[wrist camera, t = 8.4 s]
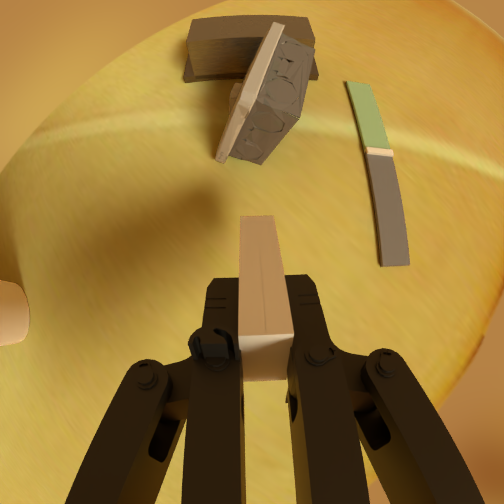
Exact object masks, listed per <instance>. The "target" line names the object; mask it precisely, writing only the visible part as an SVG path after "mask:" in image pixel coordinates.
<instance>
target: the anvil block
mask: <svg viewBox="0 0 504 504" xmlns="http://www.w3.org/2000/svg"><path fill="white" fill-rule="evenodd" d="M273 22H276V23H279V24H282V25H285V26H284V29H283V31H282V33H284V34H285V35H287V36H289V37H291V38H294V39H295V40H297V41H298V42H300V43H302V44H305V45H307V46H309V47H312V48H314V44H315V37H314V34H313V32H312V29H311V26H310V23H309V20H308V18H307V17H296V16H279V15H239V16H222V17H210V18H201V19H193V20H192V23H191V26H190V30H189V33H188V37H187V41H186V43H187V47H188V51H189V54H188V59H187V63H186V68H185V73H184V80H185V83H190V82H199V81H209V80H222V79H242V78H245V75H246V73H247V71H248V68H249V66H250V64H251V63H252V61H253V60H254V57H255V55H256V53H257V51H258V49H259V46H260V44H261V42H262V40H263V38H264V36H265V35H266V33H267V31H268V29H269V28H270V26H271V25H272V24H273ZM318 76H319V74H318V70H317V66H316V63H315V59H314V57H313V62H312V67H311V71H310V76H309V80H317V79H318Z"/></svg>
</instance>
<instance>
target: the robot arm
mask: <svg viewBox="0 0 504 504" xmlns="http://www.w3.org/2000/svg"><path fill="white" fill-rule="evenodd" d="M204 308H205V309H204V314H203V322H202V327H201V328H199V329H197V330H196V331H195V332H194V333H193V334H192V335H191V336H190V339H189V341H188V346H189V349H190V352H191V355H192V356H190V357H189V358H187V359H186V360H183V361H180V362H176V363H172V364H168V365H164V366H163V365H162V364H161V363H160V362H158V361H156V360H150V359H145V360H141V361H138V362H137V363H135V364H133V365H132V366H131V367H130V368H129V370H128V371H127V373H126V375H125V376H124V378H123V380H122V382H121V384H120V386H119V388H118V390H117V392H116V394H115V396H114V397H113V399H112V401H111V403H110V405H109V407H108V409H107V411H106V413H105V415H104V417H103V419H102V421H101V423H100V425H99V428H98V430H97V432H96V434H95V436H94V438H93V440H92V442H91V444H90V446H89V449H88V451H87V453H86V455H85V457H84V460H83V462H82V464H81V466H80V468H79V471H78V473H77V475H76V478H75V480H74V482H73V485H72V487H71V490H70V492H69V494H68V497H67V499H66V502H65V504H155V501H156V499H157V496H158V493H159V491H160V488H161V485H162V483H163V480H164V477H165V475H166V472H167V469H168V467H169V464H170V461H171V458H172V456H173V453H174V450H175V448H176V445H177V442H178V440H179V437H180V434H181V432H182V429H183V427H184V424H185V421H186V419H187V424H186V436H185V449H184V463H183V479H182V500H181V504H246V479H245V430H244V392H243V381H271V380H286V378H287V379H288V391H287V395H286V401H285V403H288V408H289V419H290V429H291V440H292V452H293V463H294V475H295V488H296V502H297V504H370V501H369V493H368V487H367V480H366V474H365V468H364V462H363V456H362V451H361V446H360V441H361V443H362V445H363V447H364V449H365V452H366V454H367V456H368V458H369V460H370V462H371V464H372V466H373V468H374V470H375V472H376V474H377V476H378V478H379V481H380V483H381V485H382V487H383V489H384V491H385V492H386V495H387V497H388V499H389V501H390V504H485V503H484V501H483V498H482V496H481V494H480V492H479V490H478V488H477V485H476V483H475V481H474V480H473V477H472V475H471V473H470V471H469V469H468V467H467V465H466V463H465V461H464V459H463V457H462V456H461V454H460V452H459V450H458V448H457V446H456V445H455V443H454V441H453V439H452V437H451V435H450V434H449V432H448V430H447V429H446V427H445V425H444V423H443V422H442V420H441V418H440V416H439V415H438V413H437V411H436V410H435V408H434V406H433V405H432V403H431V402H430V400H429V398H428V397H427V395H426V393H425V392H424V390H423V389H422V387H421V385H420V384H419V382H418V381H417V379H416V378H415V376H414V375H413V373H412V372H411V370H410V368H409V367H408V365H407V364H406V362H405V361H404V359H403V358H402V357H401V356H400V355H399V354H398V353H397V352H395V351H393V350H391V349H385V348H382V349H377V350H375V351H373V352H372V353H370V355H369V356H363V355H357V354H351V353H347V352H344V351H342V350H341V349H339V348H338V347H337V346H335V345H334V343H333V342H332V341H331V339H330V336H329V333H328V329H327V325H326V322H325V318H324V314H323V310H322V307H321V304H320V299H319V296H318V292H317V289H316V285H315V283H314V282H313V281H312V279H311V278H310V277H309V276H308V275H307V274H304V275H284V270H283V264H282V259H281V253H280V248H279V242H278V237H277V231H276V226H275V221H274V216H240V256H239V278H214V279H213V280H212V282H211V283H210V284H209V286H208V287H207V292H206V300H205V307H204ZM359 439H360V440H359Z"/></svg>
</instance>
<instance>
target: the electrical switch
mask: <svg viewBox="0 0 504 504" xmlns="http://www.w3.org/2000/svg"><path fill="white" fill-rule="evenodd" d="M284 26H285V25H282V24H279V23H276V22H273V24H272V25H271V26H270V28H269V29H268V31H267V33H266V35H265V36H264V38H263V40H262V42H261V44H260V46H259V49H258V51H257V53H256V55H255V57H254V60H253V61H252V63H251V64H250V66H249V68H248V71H247V73H246V75H245V78H244V80H243V82H242V83H235V84H234V86H233V88H232V90H231V93H230V97H229V115H230V116H229V118H228V121H227V123H226V126H225V129H224V131H223V134H222V137H221V139H220V142H219V145H218V148H217V152H216V157H215V160H216V161H219V162H221V163H225V162H226V160H227V157H228V155H230V156H232V157H235V158H238V159H241V160H248V161H250V162H253V163H256V164H259V165H262V163H263V162H264V161H265V160H266V158H267V157H268V156H269V155H270V153H271V152H272V151H273V150H274V149H275V147H276V146H277V145H278V144H279V142H280V141H281V140H282V139H283V138H284V136H285V135H286V134H287V133H288V132H289V130H290V129H291V128H292V127H293V126H294V124H295V123H296V122H297V121H298V120H299V119H298V118H300V116H301V111H302V107H303V102H304V98H305V94H306V89H307V85H308V80H309V76H310V71H311V67H312V62H313V57H314V53H315V49H314V48H312V47H309V46H307V45H305V44H302V43H300V42H298V41H297V40H295V39H294V38H291V37H289V36H287V35H285V34H284V33H282V31H283V29H284ZM298 97H299V98H298ZM297 98H298V99H297ZM296 99H297V100H296ZM283 111H284V112H283ZM285 112H286V113H285ZM290 114H291V115H290ZM292 115H293V116H292ZM294 116H295V117H294ZM296 117H297V118H296Z"/></svg>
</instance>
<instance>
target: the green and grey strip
mask: <svg viewBox="0 0 504 504" xmlns="http://www.w3.org/2000/svg"><path fill="white" fill-rule="evenodd" d="M346 86H347V89H348V92H349V96H350V99H351V102H352V106H353V109H354V113H355V117H356V121H357V124H358V128H359V132H360V137H361V141H362V145H363V150H364V154H365V159H366V164H367V169H368V174H369V180H370V185H371V191H372V197H373V204H374V210H375V218H376V226H377V234H378V243H379V254H380V266H381V267H388V266H406V265H410V258H409V248H408V240H407V232H406V225H405V218H404V211H403V205H402V200H401V194H400V189H399V184H398V179H397V175H396V170H395V166H394V162H393V158H392V157H393V155H394V154H393V150H390V146H389V142H388V139H387V135H386V132H385V128H384V125H383V121H382V118H381V115H380V112H379V109H378V106H377V103H376V100H375V97H374V94H373V92H372V89H371V86H370V85H369V84H364V83H358V82H351V81H347V82H346Z"/></svg>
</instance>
